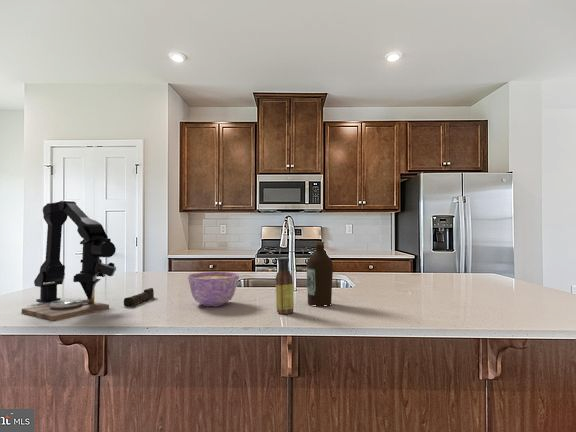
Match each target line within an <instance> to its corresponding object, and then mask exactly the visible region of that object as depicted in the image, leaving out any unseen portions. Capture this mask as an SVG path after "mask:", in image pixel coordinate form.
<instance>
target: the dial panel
mask: <svg viewBox="0 0 576 432" xmlns="http://www.w3.org/2000/svg"><path fill="white" fill-rule="evenodd" d="M79 299H80V300H83V298H79ZM108 309H109V310H110V304H107V303H102V302H97V301H94V303H91V304H88V303H83V304H82V306H79V307H75V308H69V309H51V308H50V303H46V304H41V305H35V306H29V307H24V308H21V314H24V313H25V314H24V315H28V316H32V317H36V318H40V319H43V320H48V321H51V322H52V321H57V320H63V319H66V318H71V317H76V316H80V315H85V314H90V313H95V312H100V311H104V310H108Z"/></svg>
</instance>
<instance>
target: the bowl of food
mask: <svg viewBox="0 0 576 432" xmlns="http://www.w3.org/2000/svg"><path fill="white" fill-rule="evenodd" d="M239 276H240V274H238V273H236V272H227V271H205V272H203V271H202V272H196V273H191V274H189V275H187V279H188V283H189V288H190V292H191V295H192V298H193V299H194V301H195V302H197V303H199V304H202V305H203V306H204V307H209V306H214V307H220V305H221V306H224V304H226V303H228V302H229V301H231V300H232V299H233V297H234V295H235V292H236V290H237V286H238V280H239Z"/></svg>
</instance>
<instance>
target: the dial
mask: <svg viewBox="0 0 576 432" xmlns="http://www.w3.org/2000/svg"><path fill="white" fill-rule="evenodd" d="M95 289H96V288H94V291H93V294H92V298H91V299H88V298H87V297H86V298H85V299H83V298H82V300H80V299H81V298H68V299H67V298H66V299H60V300H55V301H50V303H49V304H50V308H51V309H69V308H75V307H79V306H82V304H83V303H88V304H91V303H94V302H95V296H96V295H95V293H96V292H95Z"/></svg>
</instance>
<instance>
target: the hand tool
mask: <svg viewBox="0 0 576 432" xmlns="http://www.w3.org/2000/svg"><path fill="white" fill-rule="evenodd" d="M154 293H155V292H154V288H153V287H150V288H146V289H144V290H143V291H142V292H141V293H138V294H134V295H131V296H128V297H124V299H123V306H124V307H125V308H132V307H134V306H135V305H137V304H139V303H142V302H144V301H150V300H152V299H153V298H154V296H155V294H154Z"/></svg>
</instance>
